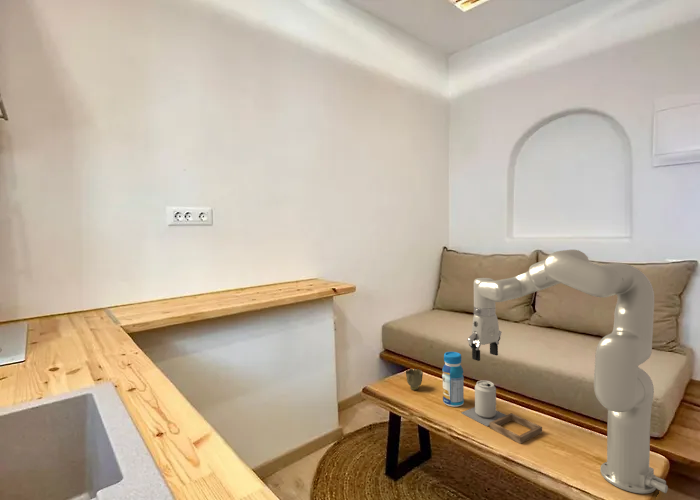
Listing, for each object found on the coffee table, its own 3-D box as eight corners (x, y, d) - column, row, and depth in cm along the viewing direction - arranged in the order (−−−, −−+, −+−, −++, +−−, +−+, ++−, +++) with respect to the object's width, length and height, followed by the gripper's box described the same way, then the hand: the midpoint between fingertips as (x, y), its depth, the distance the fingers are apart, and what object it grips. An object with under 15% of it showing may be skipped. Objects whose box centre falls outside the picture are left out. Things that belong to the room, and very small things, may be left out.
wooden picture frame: (542, 432, 132) (542, 427, 132) (520, 443, 126) (520, 437, 126) (511, 418, 142) (511, 413, 142) (489, 427, 136) (489, 422, 136)
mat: (509, 417, 143) (509, 416, 143) (487, 426, 137) (487, 425, 137) (482, 404, 153) (482, 403, 153) (461, 413, 147) (461, 412, 147)
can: (497, 420, 140) (497, 387, 140) (476, 418, 142) (475, 386, 141) (494, 410, 148) (494, 379, 147) (474, 409, 149) (473, 378, 149)
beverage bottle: (460, 409, 150) (460, 358, 149) (439, 404, 155) (438, 355, 153) (466, 400, 157) (466, 352, 156) (446, 396, 162) (445, 349, 161)
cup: (403, 386, 173) (403, 368, 173) (419, 384, 174) (419, 367, 174) (409, 393, 166) (409, 375, 165) (425, 391, 167) (425, 373, 167)
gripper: (476, 316, 135) (477, 365, 136) (508, 310, 144) (508, 355, 145) (460, 313, 141) (461, 359, 142) (491, 306, 150) (492, 350, 151)
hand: (485, 357), depth 143 cm, fingers open, 9 cm apart
